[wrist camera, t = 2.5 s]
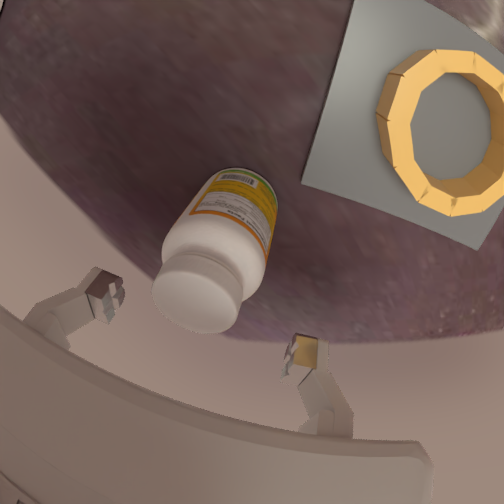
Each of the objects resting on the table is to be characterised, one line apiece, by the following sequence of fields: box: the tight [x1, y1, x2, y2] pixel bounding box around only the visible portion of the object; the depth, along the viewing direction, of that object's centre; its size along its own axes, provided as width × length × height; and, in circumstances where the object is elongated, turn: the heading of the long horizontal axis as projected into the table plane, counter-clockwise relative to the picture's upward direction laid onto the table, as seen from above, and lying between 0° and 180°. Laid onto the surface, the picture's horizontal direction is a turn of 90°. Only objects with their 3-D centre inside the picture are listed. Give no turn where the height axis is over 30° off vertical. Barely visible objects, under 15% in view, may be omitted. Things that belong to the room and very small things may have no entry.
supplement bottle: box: [151, 168, 278, 334], centre depth 16 cm, size 5×5×10 cm
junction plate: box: [301, 0, 504, 250], centre depth 12 cm, size 15×14×4 cm
